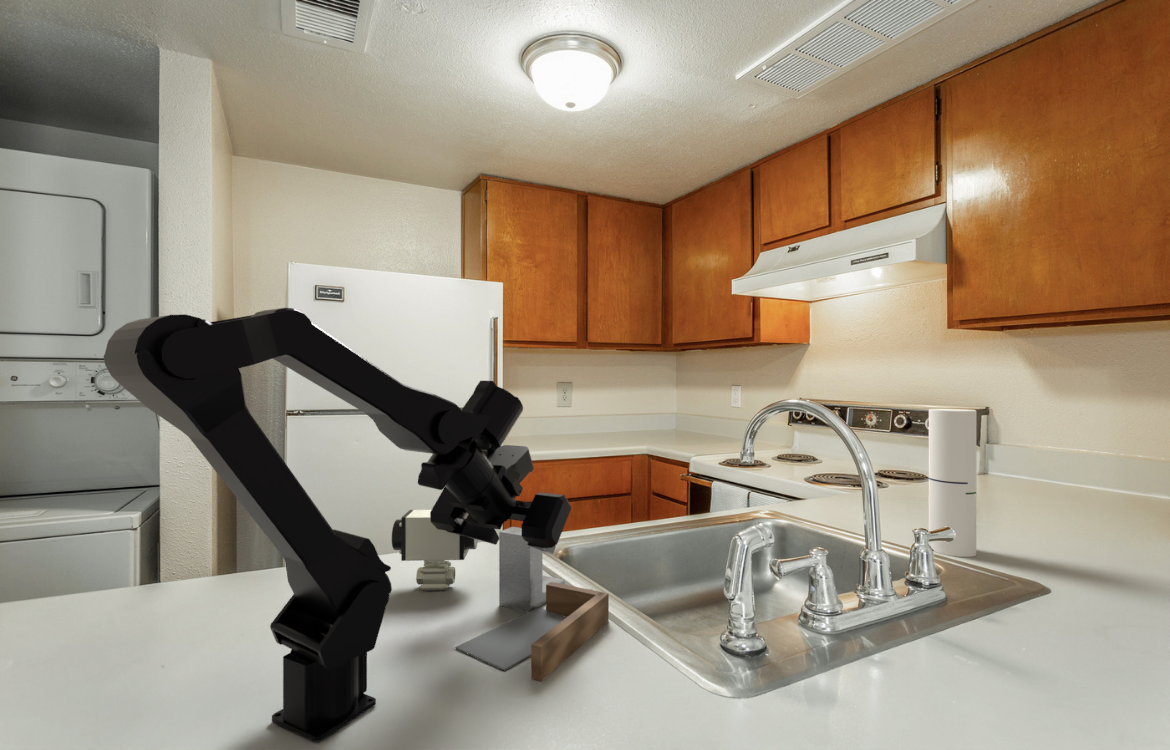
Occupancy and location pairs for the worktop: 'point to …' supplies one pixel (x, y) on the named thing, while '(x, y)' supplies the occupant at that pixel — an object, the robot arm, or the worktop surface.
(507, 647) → the mat
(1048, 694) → the worktop surface
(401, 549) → the pneumatic valve
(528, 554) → the bracket
